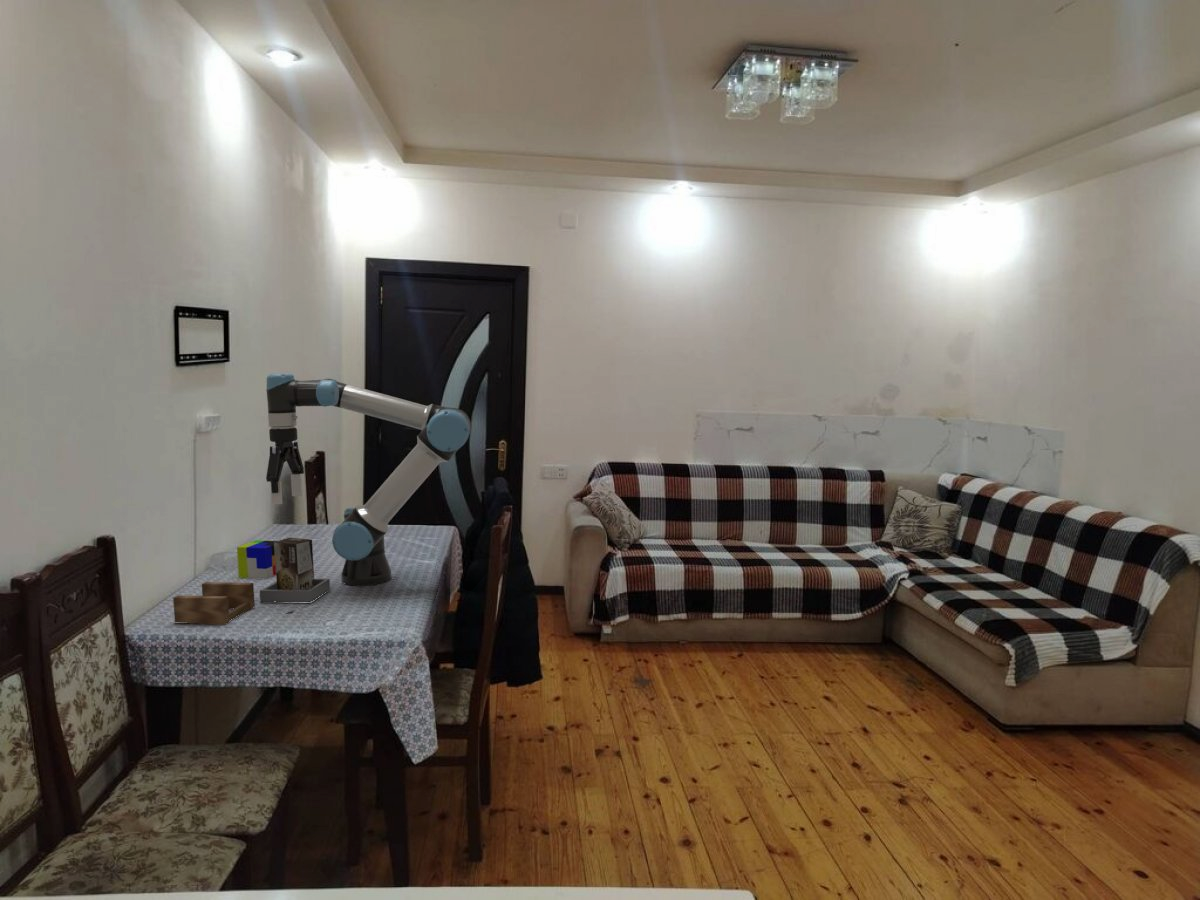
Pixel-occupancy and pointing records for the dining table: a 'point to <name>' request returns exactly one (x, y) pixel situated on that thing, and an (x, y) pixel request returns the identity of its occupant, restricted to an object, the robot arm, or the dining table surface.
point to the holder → (215, 603)
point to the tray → (294, 592)
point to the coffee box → (294, 564)
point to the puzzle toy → (256, 559)
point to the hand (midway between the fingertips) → (287, 500)
